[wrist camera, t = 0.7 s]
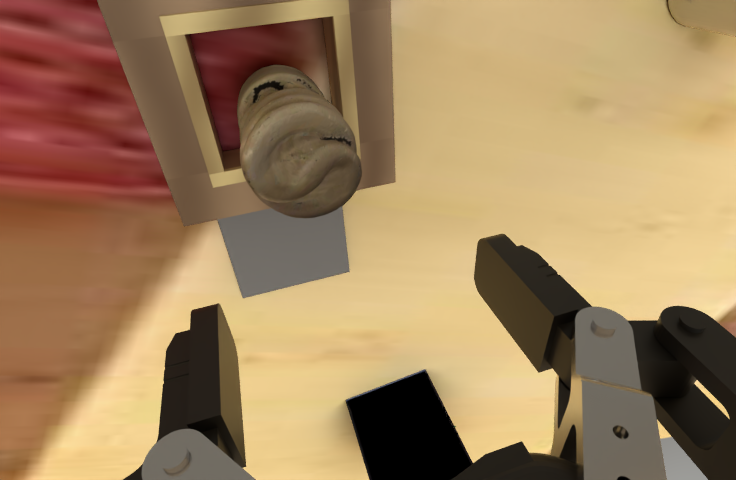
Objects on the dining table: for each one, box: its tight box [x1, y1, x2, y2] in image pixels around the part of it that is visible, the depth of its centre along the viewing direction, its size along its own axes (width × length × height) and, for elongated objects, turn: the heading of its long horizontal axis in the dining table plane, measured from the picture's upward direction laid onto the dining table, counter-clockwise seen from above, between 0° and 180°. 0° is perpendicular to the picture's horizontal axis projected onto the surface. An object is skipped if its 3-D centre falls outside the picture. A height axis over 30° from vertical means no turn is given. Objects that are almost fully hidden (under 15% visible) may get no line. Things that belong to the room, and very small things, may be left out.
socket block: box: [97, 0, 395, 226], centre depth 29 cm, size 16×16×3 cm
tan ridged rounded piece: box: [237, 65, 362, 218], centre depth 24 cm, size 6×6×15 cm
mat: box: [218, 206, 350, 298], centre depth 37 cm, size 10×10×1 cm
